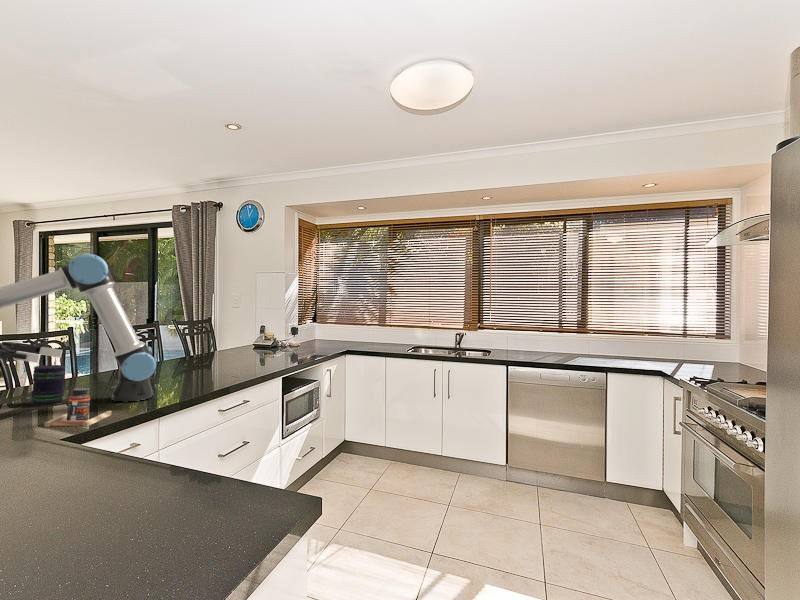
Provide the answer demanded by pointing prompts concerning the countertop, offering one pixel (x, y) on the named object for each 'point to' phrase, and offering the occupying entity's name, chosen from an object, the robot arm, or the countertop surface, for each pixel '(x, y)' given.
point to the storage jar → (48, 385)
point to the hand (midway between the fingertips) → (50, 356)
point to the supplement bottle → (78, 405)
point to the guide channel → (75, 421)
